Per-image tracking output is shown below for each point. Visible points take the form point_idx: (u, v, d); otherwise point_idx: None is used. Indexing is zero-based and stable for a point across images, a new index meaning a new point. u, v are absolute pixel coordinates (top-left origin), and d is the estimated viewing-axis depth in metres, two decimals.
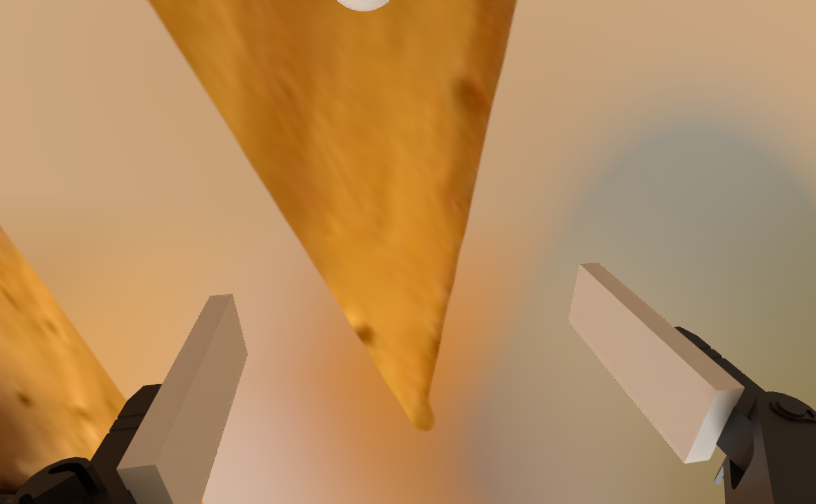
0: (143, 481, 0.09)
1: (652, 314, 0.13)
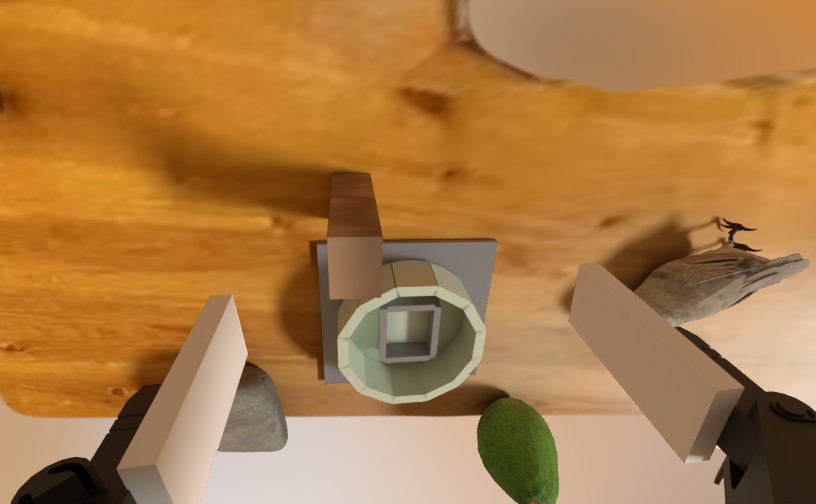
0: (143, 481, 0.09)
1: (651, 314, 0.13)
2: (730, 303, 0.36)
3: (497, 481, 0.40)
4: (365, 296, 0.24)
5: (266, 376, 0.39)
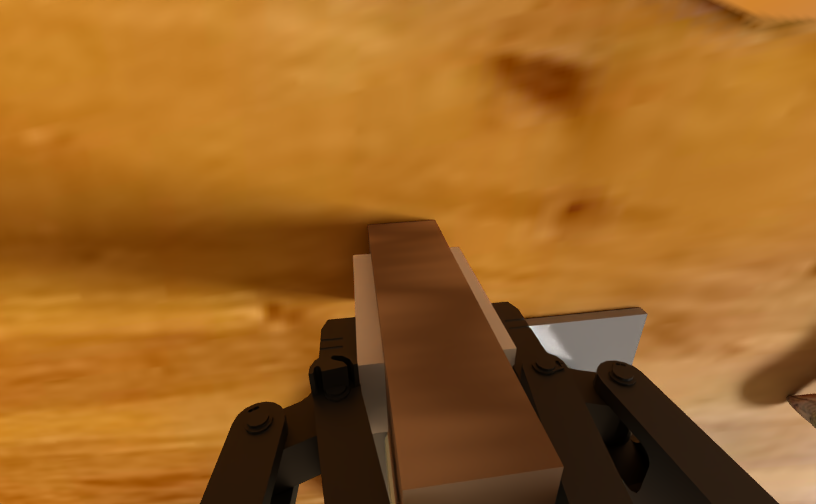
0: (372, 377, 0.11)
1: (477, 290, 0.14)
2: None
3: None
4: None
5: None
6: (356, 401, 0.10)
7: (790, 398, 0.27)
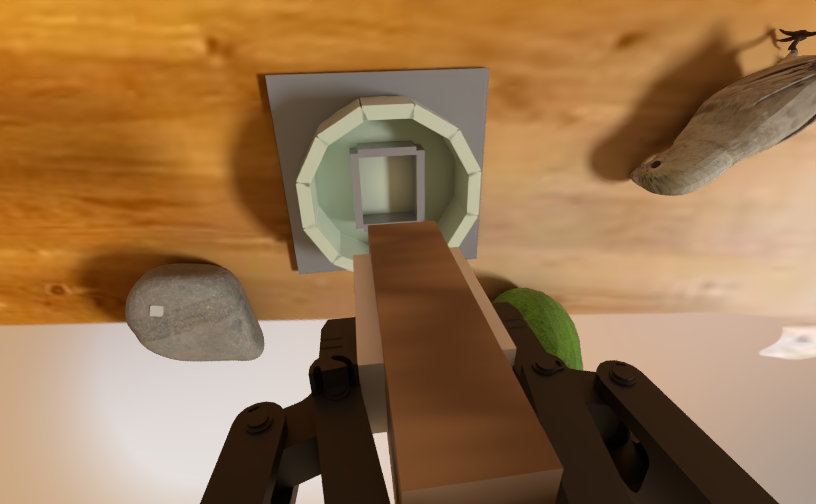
0: (372, 377, 0.11)
1: (477, 290, 0.14)
2: (802, 121, 0.29)
3: None
4: None
5: (229, 273, 0.33)
6: (356, 401, 0.10)
7: (630, 173, 0.36)
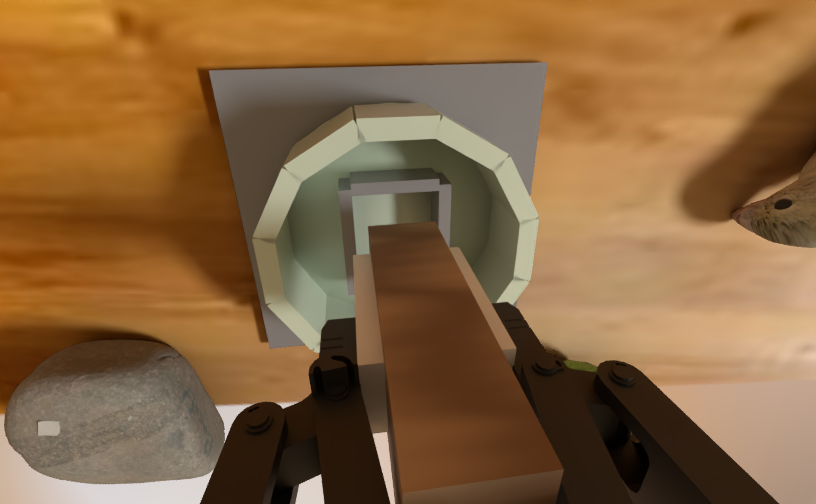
0: (372, 377, 0.11)
1: (477, 290, 0.14)
2: None
3: None
4: None
5: (171, 355, 0.23)
6: (356, 401, 0.10)
7: (733, 212, 0.26)
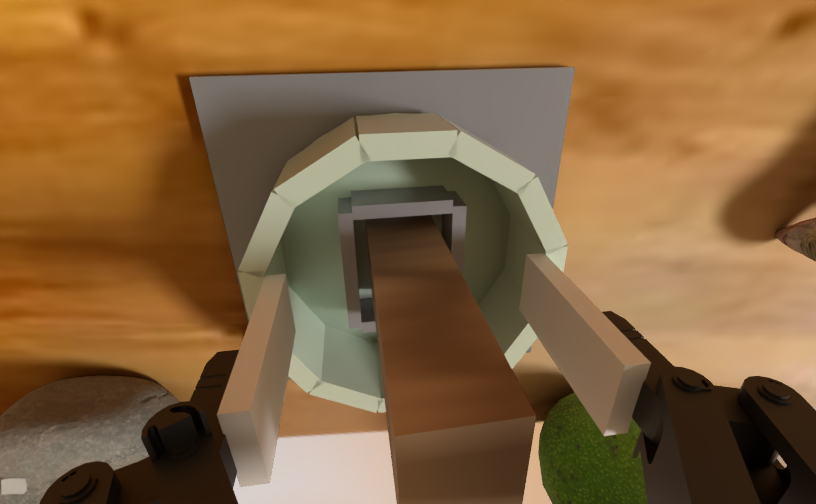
0: (237, 426, 0.10)
1: (582, 299, 0.13)
2: None
3: None
4: None
5: (157, 395, 0.21)
6: (209, 452, 0.09)
7: (778, 232, 0.24)
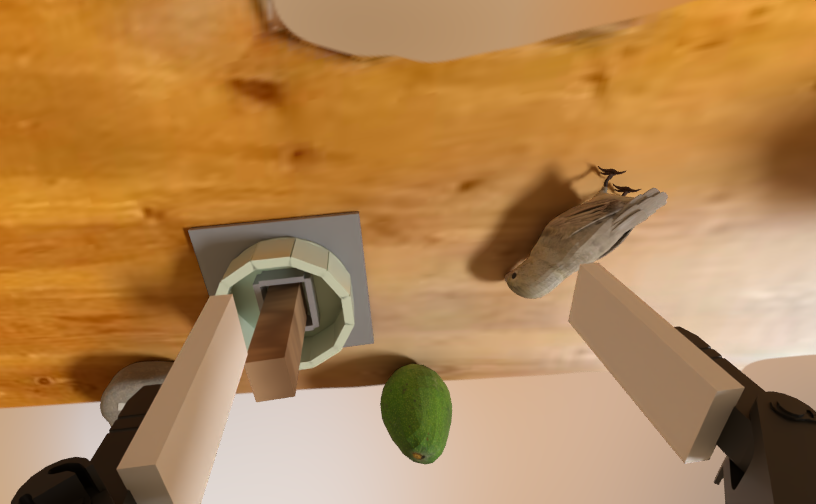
0: (143, 481, 0.09)
1: (652, 314, 0.13)
2: (607, 246, 0.38)
3: (393, 439, 0.43)
4: (282, 396, 0.32)
5: None
6: None
7: None
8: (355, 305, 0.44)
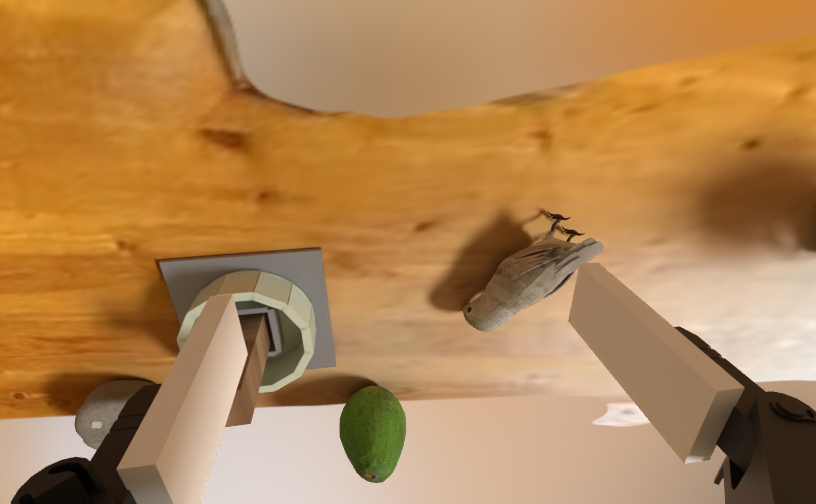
0: (143, 481, 0.09)
1: (651, 314, 0.13)
2: (551, 288, 0.42)
3: None
4: (239, 423, 0.35)
5: None
6: None
7: None
8: (318, 332, 0.47)
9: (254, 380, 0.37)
